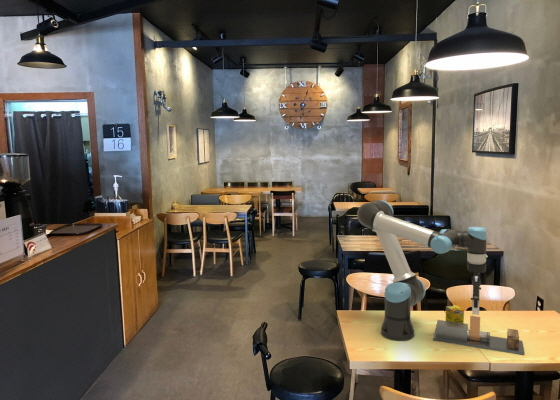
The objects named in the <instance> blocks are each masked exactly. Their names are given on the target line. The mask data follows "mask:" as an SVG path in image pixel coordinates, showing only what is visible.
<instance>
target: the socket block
mask: <svg viewBox="0 0 560 400" xmlns="http://www.w3.org/2000/svg"><path fill="white" fill-rule="evenodd" d="M506 333H507V334H506V335H507V337H506V338H507V342H508V348H512V349H519V340H520V335H519V329H516V328H515V329H513V328H507V330H506Z"/></svg>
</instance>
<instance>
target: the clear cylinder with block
mask: <svg viewBox="0 0 560 400" xmlns="http://www.w3.org/2000/svg"><path fill="white" fill-rule="evenodd" d="M480 328H481V316H478V315H470V317H469V328H468V329H467V338H470V340H476V341H480V340H487V341H490V336H491V333H490V332H488V331H482V330H481V329H480Z"/></svg>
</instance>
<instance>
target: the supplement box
mask: <svg viewBox="0 0 560 400" xmlns="http://www.w3.org/2000/svg"><path fill="white" fill-rule="evenodd" d="M445 321H450V322H458V323H465V309H464V308H462V307H460V306H458V305H457V304H456V305H455V304H454V305H448V306H445Z"/></svg>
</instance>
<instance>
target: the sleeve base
mask: <svg viewBox="0 0 560 400" xmlns="http://www.w3.org/2000/svg"><path fill="white" fill-rule="evenodd" d="M468 324H469V323H465V322H464V323H458V322H450V321H446V320H442V319H437V321H436V324H435V329H434V334H433V338H432V341H433V342H439V343H446V344H452V345H457V346H458V345H459V346H465V347H470V348H471V347H472V348H477V349H484V350H489V351H495V352H496V351H497V352H502V353H508V354H514V355H521V356H525V347H524V343H523V340H520V339H519V349H512V348H508V342H507V337H499V336H493V335H492V336H491V335H490V341H487V340H480V341H476V340H470V338H467V329H469V327H468V326H469V325H468Z"/></svg>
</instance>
